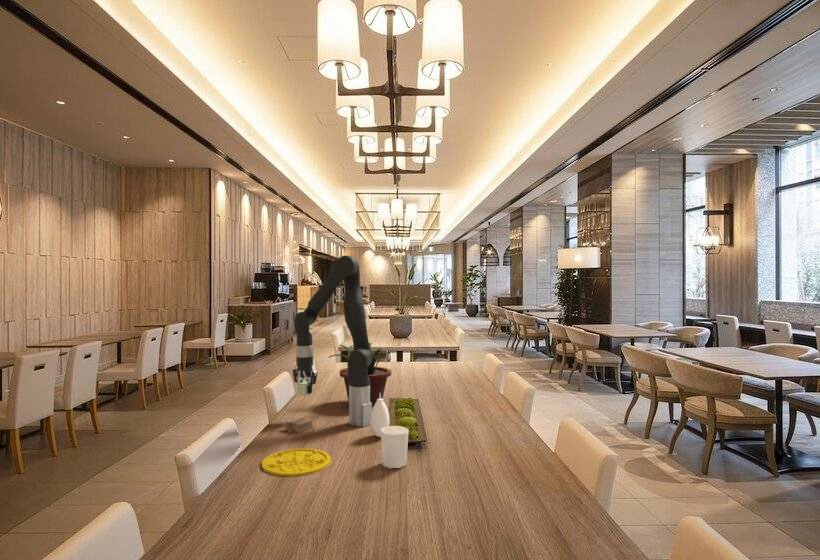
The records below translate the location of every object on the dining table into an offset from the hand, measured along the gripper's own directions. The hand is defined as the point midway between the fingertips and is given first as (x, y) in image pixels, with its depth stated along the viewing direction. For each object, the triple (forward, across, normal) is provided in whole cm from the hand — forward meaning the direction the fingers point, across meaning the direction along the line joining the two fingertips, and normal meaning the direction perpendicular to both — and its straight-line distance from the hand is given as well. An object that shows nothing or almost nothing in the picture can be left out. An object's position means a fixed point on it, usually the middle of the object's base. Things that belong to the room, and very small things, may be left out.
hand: (305, 392), depth 220 cm
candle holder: (+14, -64, +20) cm, 68 cm away
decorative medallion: (+14, -34, +38) cm, 53 cm away
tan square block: (+13, -8, +11) cm, 19 cm away
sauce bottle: (+14, -42, -1) cm, 44 cm away
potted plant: (+13, -3, -36) cm, 38 cm away
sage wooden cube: (+1, 0, 0) cm, 1 cm away
